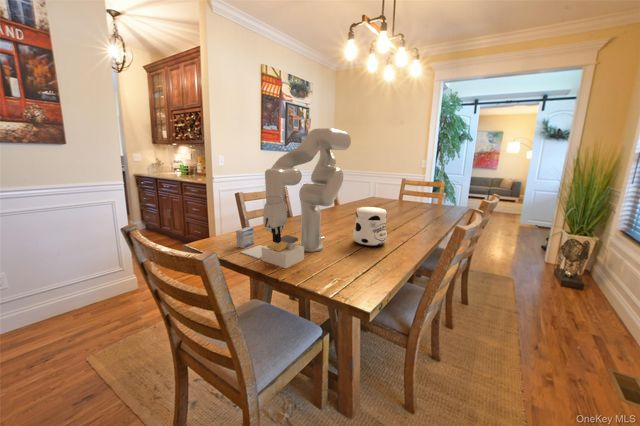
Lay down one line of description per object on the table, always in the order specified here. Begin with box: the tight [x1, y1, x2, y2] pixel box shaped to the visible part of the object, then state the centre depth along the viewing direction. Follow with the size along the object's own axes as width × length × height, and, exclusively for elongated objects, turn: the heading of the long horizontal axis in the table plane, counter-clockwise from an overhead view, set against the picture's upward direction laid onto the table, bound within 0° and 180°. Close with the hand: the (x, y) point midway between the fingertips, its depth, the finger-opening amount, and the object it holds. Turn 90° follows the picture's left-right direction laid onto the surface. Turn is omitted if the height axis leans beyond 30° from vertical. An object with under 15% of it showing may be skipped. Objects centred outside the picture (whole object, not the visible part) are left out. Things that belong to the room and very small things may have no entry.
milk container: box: [352, 206, 388, 247], centre depth 146 cm, size 17×17×18 cm
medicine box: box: [235, 226, 255, 249], centre depth 139 cm, size 8×4×9 cm, turn 154°
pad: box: [240, 244, 264, 260], centre depth 132 cm, size 12×12×1 cm
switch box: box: [261, 243, 305, 269], centre depth 123 cm, size 12×14×9 cm
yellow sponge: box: [267, 234, 299, 251], centre depth 122 cm, size 12×7×2 cm, turn 145°
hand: (276, 241), depth 118 cm, fingers closed
